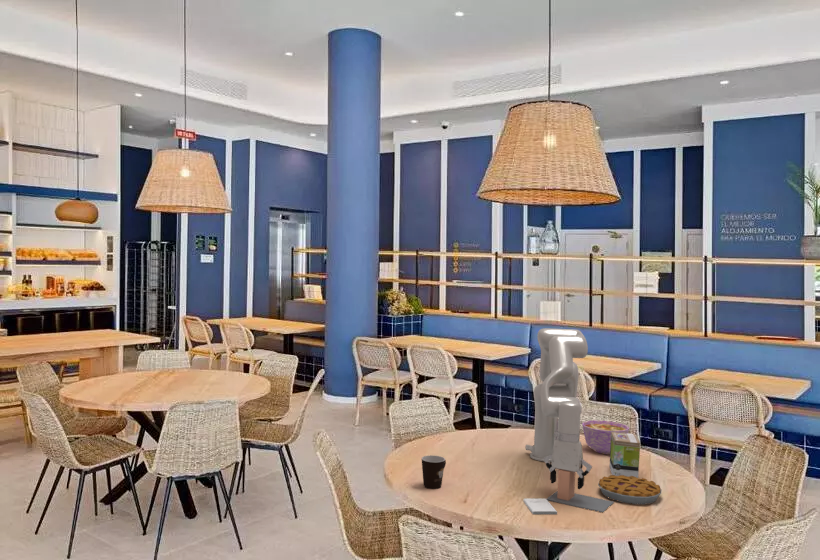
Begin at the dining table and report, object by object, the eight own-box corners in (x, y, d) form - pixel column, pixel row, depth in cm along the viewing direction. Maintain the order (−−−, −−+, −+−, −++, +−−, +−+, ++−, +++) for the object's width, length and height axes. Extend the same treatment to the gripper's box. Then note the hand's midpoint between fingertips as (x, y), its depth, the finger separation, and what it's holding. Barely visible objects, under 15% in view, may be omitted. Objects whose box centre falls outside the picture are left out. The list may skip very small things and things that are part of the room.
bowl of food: (603, 443, 318) (604, 418, 317) (637, 454, 301) (638, 428, 300) (571, 448, 307) (572, 422, 307) (605, 460, 290) (606, 433, 290)
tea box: (639, 480, 264) (640, 442, 264) (612, 477, 266) (613, 440, 266) (634, 469, 279) (636, 433, 279) (608, 466, 281) (610, 430, 281)
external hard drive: (532, 516, 224) (523, 502, 237) (557, 516, 225) (546, 502, 237) (532, 511, 224) (523, 498, 237) (557, 511, 225) (546, 498, 237)
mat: (546, 499, 239) (546, 498, 239) (558, 490, 249) (558, 489, 249) (603, 513, 228) (603, 511, 228) (613, 502, 238) (613, 501, 238)
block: (557, 498, 240) (558, 469, 239) (563, 493, 245) (564, 465, 244) (568, 500, 237) (569, 472, 237) (574, 496, 242) (575, 467, 242)
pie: (606, 481, 262) (607, 468, 262) (666, 493, 251) (667, 479, 250) (590, 497, 243) (590, 483, 243) (654, 511, 232) (655, 496, 232)
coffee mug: (427, 491, 243) (428, 463, 243) (416, 483, 251) (417, 456, 251) (455, 487, 249) (456, 459, 249) (443, 480, 256) (444, 453, 256)
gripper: (541, 434, 242) (539, 483, 242) (589, 443, 232) (587, 493, 233) (549, 430, 248) (547, 477, 249) (596, 438, 239) (594, 487, 239)
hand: (566, 485), depth 241 cm, fingers open, 9 cm apart
